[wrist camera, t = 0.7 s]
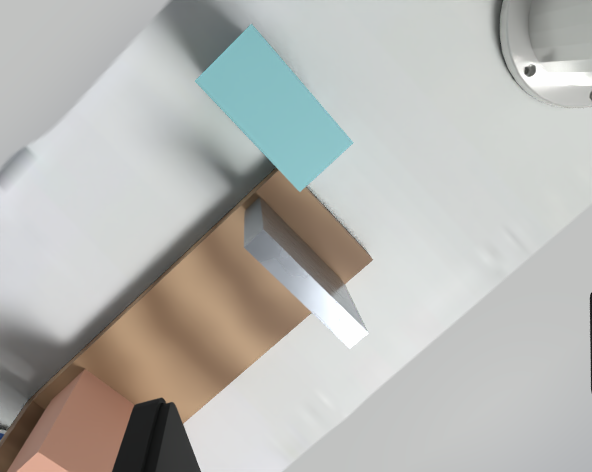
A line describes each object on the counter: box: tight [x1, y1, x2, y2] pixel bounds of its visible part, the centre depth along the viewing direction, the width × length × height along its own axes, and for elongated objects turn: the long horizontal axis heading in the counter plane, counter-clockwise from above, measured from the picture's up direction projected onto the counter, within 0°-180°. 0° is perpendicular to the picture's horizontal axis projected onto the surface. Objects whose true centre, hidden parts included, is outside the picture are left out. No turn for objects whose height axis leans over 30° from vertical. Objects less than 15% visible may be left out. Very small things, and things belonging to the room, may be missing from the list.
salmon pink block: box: [7, 369, 134, 472], centre depth 33 cm, size 4×8×8 cm, turn 43°
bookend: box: [244, 197, 368, 348], centre depth 30 cm, size 2×9×8 cm, turn 42°
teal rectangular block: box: [195, 24, 353, 192], centre depth 28 cm, size 4×8×8 cm, turn 43°
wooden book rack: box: [0, 168, 373, 472], centre depth 33 cm, size 28×10×10 cm, turn 132°
